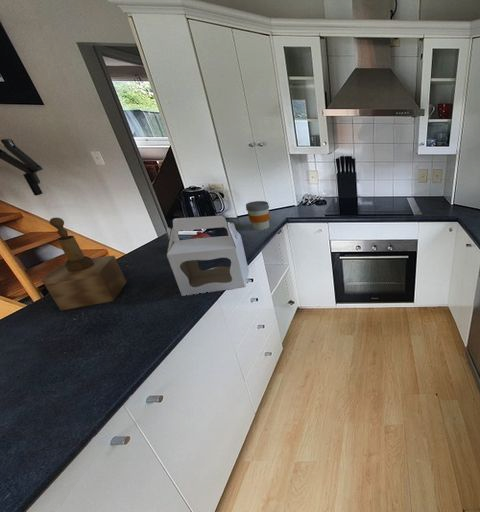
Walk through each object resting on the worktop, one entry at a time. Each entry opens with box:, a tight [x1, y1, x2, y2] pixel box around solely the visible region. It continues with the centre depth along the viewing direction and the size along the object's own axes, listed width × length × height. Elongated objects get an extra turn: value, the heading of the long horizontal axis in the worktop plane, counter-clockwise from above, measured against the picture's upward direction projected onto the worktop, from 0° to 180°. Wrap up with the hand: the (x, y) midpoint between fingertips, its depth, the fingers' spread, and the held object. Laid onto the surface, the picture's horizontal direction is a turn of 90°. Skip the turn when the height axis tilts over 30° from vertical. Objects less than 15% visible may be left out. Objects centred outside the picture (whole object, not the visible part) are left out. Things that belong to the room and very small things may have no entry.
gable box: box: [166, 214, 250, 297], centre depth 104 cm, size 22×13×28 cm, turn 108°
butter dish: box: [190, 230, 211, 239], centre depth 138 cm, size 12×12×8 cm
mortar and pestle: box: [49, 217, 94, 271], centre depth 91 cm, size 7×6×18 cm
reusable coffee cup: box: [245, 200, 271, 231], centre depth 164 cm, size 13×13×15 cm
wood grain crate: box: [41, 255, 127, 311], centre depth 98 cm, size 14×14×12 cm
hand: (8, 196), depth 85 cm, fingers open, 13 cm apart
